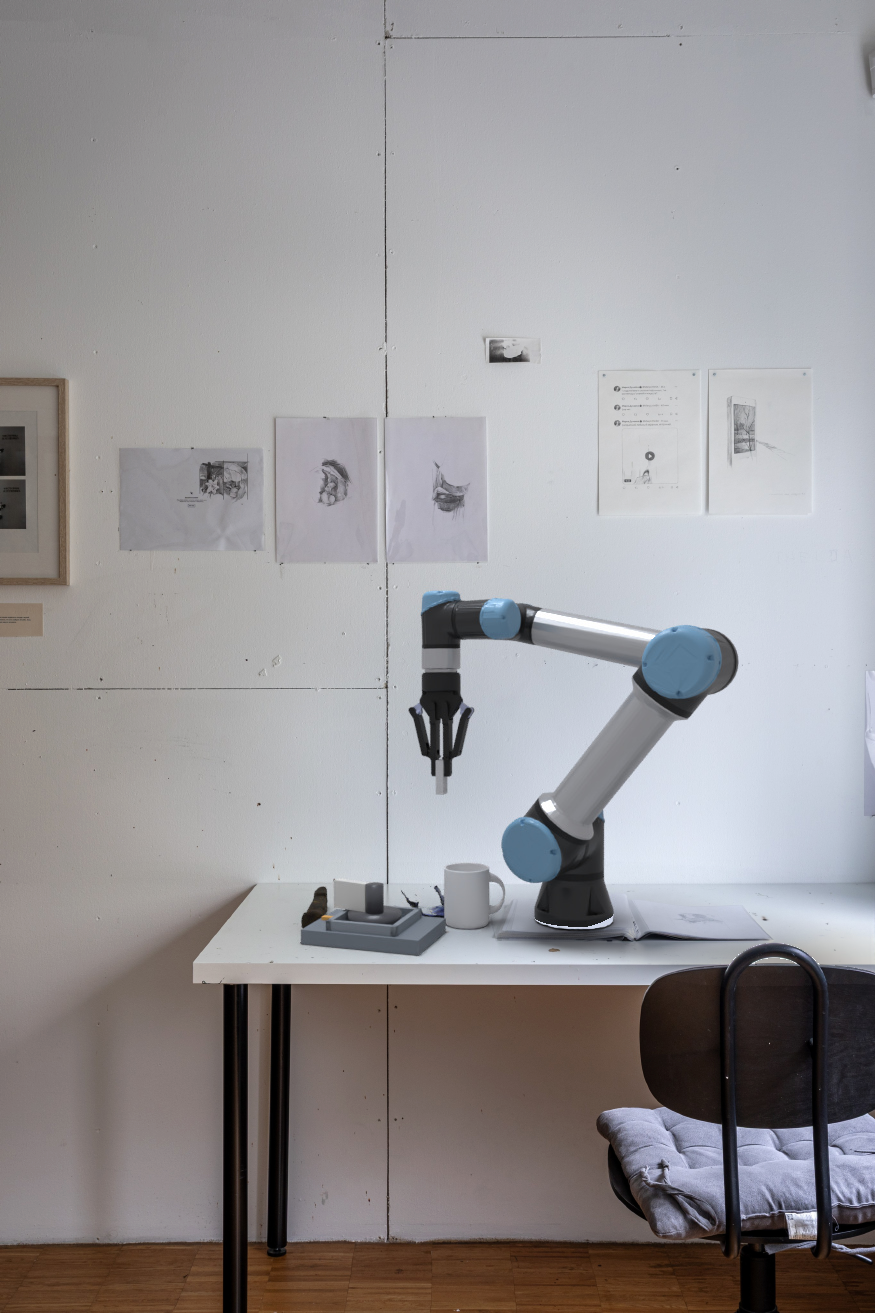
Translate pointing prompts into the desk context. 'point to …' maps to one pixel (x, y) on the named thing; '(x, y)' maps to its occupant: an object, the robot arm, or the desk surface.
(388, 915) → the dial
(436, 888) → the snack package
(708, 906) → the desk surface
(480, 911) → the mug
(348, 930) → the panel
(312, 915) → the dark brown lumpy bar
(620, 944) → the desk surface
